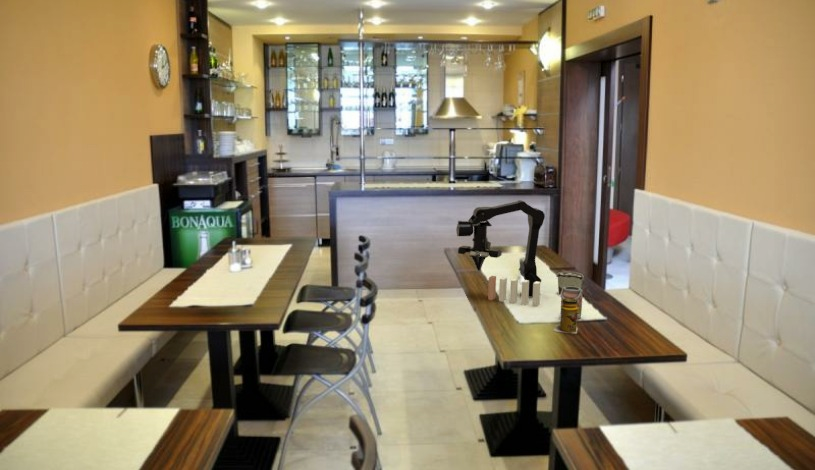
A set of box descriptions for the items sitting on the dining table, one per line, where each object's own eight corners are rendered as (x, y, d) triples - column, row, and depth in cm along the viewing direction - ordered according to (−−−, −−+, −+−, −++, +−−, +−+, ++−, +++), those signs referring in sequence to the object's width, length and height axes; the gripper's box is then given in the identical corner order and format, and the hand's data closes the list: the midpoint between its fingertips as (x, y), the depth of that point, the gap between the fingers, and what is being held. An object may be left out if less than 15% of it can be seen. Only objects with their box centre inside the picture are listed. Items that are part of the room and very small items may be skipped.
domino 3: (517, 301, 272) (518, 279, 270) (514, 303, 268) (515, 281, 266) (512, 300, 272) (513, 278, 271) (509, 302, 269) (510, 280, 267)
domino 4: (528, 302, 269) (529, 280, 267) (525, 304, 266) (526, 282, 264) (523, 302, 270) (524, 279, 268) (520, 304, 267) (521, 281, 265)
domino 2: (506, 299, 274) (507, 277, 272) (503, 301, 270) (504, 279, 268) (501, 298, 275) (502, 277, 273) (498, 301, 271) (499, 279, 269)
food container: (585, 294, 284) (586, 272, 282) (582, 297, 278) (584, 275, 276) (558, 290, 289) (559, 270, 287) (555, 294, 283) (556, 272, 281)
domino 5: (539, 304, 267) (540, 281, 265) (536, 306, 264) (537, 283, 262) (534, 303, 268) (535, 281, 266) (532, 305, 264) (533, 283, 263)
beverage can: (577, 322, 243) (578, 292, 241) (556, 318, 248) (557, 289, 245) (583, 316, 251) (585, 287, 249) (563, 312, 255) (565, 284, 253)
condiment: (576, 334, 230) (578, 303, 228) (553, 331, 232) (555, 300, 230) (577, 328, 237) (579, 297, 234) (555, 325, 239) (556, 295, 237)
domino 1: (495, 297, 276) (496, 276, 274) (492, 300, 273) (493, 278, 271) (491, 297, 277) (491, 275, 275) (488, 299, 274) (488, 277, 272)
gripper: (506, 235, 276) (504, 269, 278) (467, 231, 284) (466, 264, 287) (497, 239, 266) (496, 274, 269) (457, 235, 274) (457, 269, 277)
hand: (479, 270), depth 275 cm, fingers closed
